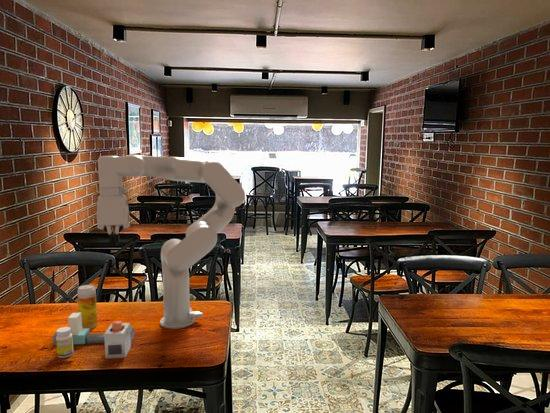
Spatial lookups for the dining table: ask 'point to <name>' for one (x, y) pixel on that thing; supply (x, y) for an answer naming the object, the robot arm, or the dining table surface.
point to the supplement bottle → (64, 342)
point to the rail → (95, 337)
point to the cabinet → (117, 342)
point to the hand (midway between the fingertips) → (114, 244)
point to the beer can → (87, 305)
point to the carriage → (77, 328)
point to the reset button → (117, 326)
